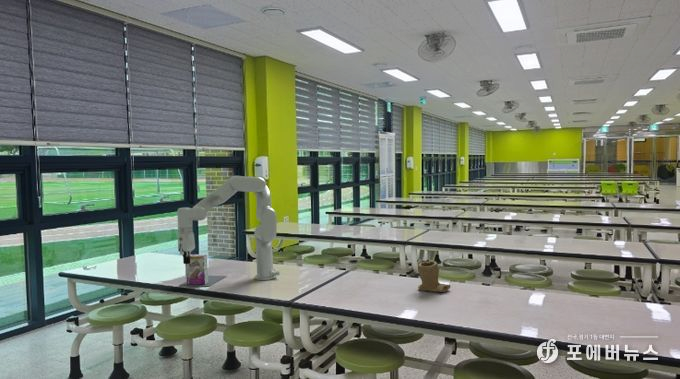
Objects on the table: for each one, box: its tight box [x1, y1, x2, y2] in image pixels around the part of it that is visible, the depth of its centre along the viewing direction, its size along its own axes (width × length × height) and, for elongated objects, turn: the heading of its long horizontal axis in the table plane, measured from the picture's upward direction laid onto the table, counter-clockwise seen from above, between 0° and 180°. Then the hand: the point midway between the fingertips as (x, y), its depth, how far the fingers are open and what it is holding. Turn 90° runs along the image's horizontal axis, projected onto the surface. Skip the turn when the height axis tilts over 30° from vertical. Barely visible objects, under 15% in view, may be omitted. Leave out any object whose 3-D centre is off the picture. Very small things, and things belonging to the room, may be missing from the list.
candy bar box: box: [185, 254, 209, 285], centre depth 255 cm, size 11×5×16 cm, turn 82°
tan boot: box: [417, 260, 451, 293], centre depth 228 cm, size 15×12×15 cm
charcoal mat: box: [179, 275, 227, 288], centre depth 262 cm, size 18×22×1 cm
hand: (186, 263), depth 246 cm, fingers closed
